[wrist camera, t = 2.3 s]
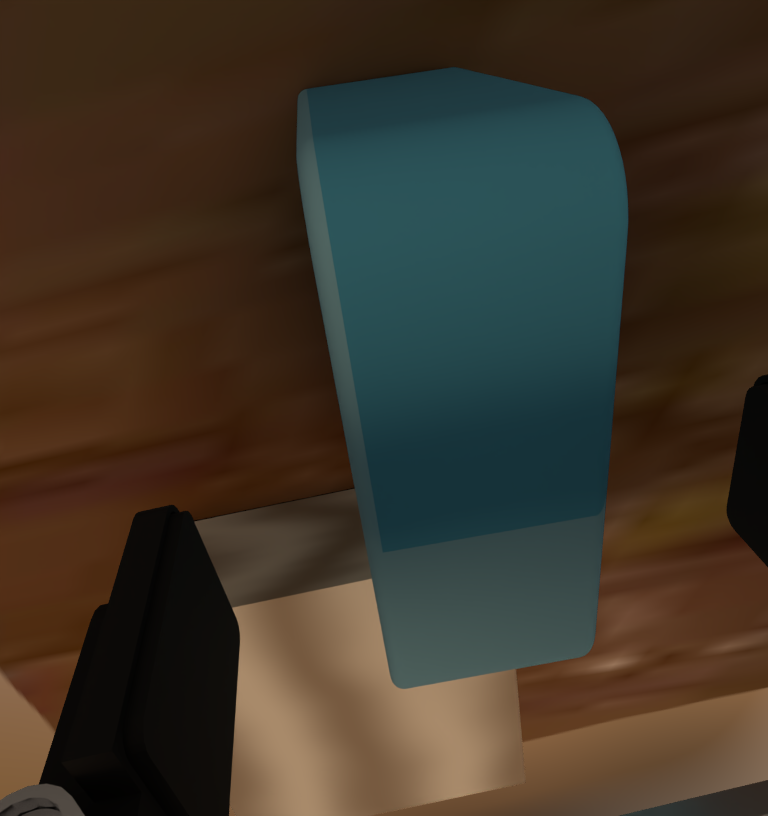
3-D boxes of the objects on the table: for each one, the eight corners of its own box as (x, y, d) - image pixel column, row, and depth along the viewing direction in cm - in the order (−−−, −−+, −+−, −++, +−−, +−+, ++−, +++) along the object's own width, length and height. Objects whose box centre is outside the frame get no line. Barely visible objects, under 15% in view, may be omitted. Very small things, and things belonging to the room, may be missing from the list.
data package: (471, 412, 24) (595, 687, 14) (356, 431, 24) (398, 723, 14) (450, 63, 18) (646, 104, 8) (295, 86, 18) (291, 158, 8)
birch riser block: (471, 464, 26) (505, 551, 21) (496, 687, 34) (525, 782, 29) (157, 529, 26) (128, 629, 21) (256, 737, 33) (250, 840, 29)
